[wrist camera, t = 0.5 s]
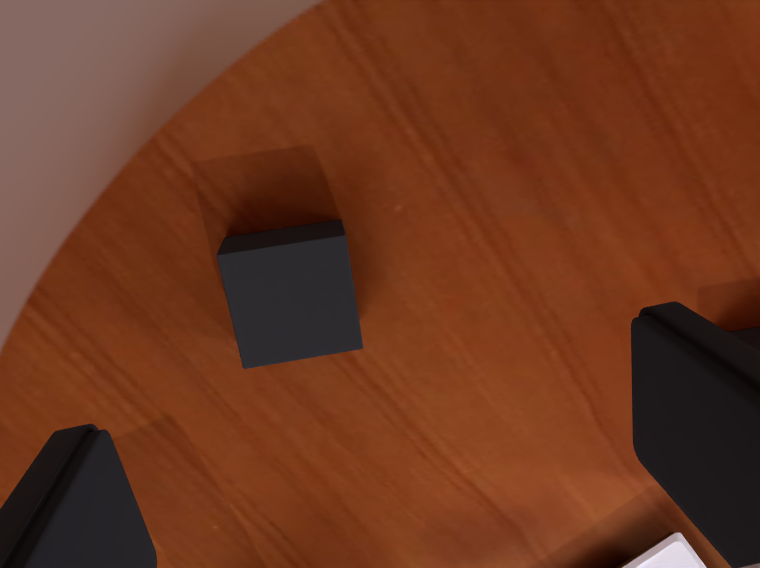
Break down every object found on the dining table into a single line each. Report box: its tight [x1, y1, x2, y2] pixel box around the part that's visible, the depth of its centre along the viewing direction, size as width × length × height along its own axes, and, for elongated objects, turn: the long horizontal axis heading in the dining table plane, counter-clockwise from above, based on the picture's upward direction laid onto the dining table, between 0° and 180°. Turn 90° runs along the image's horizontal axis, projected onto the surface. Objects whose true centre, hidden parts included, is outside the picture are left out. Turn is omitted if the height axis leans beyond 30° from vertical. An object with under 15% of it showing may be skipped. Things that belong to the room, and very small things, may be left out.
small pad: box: [217, 220, 363, 369], centre depth 30 cm, size 6×6×3 cm
